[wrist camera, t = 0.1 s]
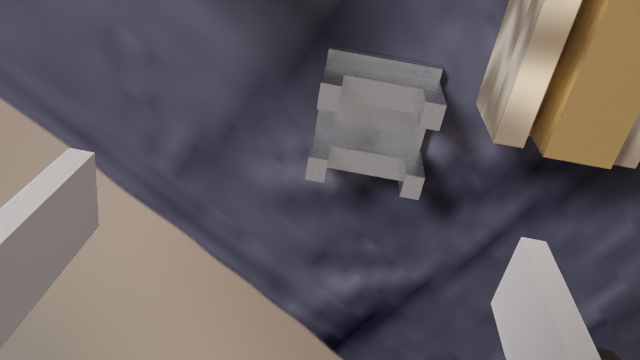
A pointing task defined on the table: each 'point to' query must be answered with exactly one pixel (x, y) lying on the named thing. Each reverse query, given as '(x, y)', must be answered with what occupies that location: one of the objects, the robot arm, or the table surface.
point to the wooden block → (593, 86)
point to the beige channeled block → (531, 72)
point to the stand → (375, 117)
